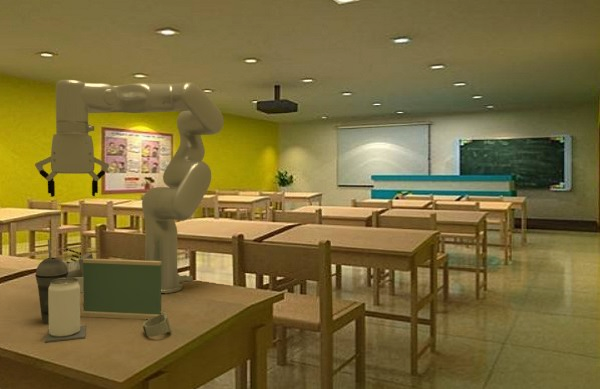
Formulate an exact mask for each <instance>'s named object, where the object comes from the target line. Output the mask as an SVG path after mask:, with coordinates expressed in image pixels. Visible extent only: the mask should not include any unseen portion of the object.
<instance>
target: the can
mask: <svg viewBox="0 0 600 389" xmlns="http://www.w3.org/2000/svg"><path fill="white" fill-rule="evenodd" d="M77 281H78V279H76V278H59V279H54V280H51V281H50V283H51V284H50V286H49V289H48V310H49V323H48V329H49V334H50V335H51V336H53V337H67V336H71V335H74V334H77V333H78V332H79V331H80V326H81V293H80V286H79V284H78V282H77Z"/></svg>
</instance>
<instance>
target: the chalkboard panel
mask: <svg viewBox="0 0 600 389" xmlns="http://www.w3.org/2000/svg"><path fill="white" fill-rule="evenodd" d="M161 264H162V261H145V260H143V259H141V260H137V259H134V260H133V259H109V258H108V259H107V258H106V259H105V258H93V259H83V291H84V293H83V311H80V318H81V317H85V318H104V319H105V318H107V319H108V318H109V319H124V320H125V319H128V320H129V319H130V320H146V319H151V318H153V317H155V316H158V315H162V314H163V311H162V294H161Z"/></svg>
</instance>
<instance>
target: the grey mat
mask: <svg viewBox="0 0 600 389" xmlns="http://www.w3.org/2000/svg"><path fill="white" fill-rule="evenodd" d="M86 328H87V325H80V331H79V332H78V333H77V334H74V335H71V336H67V337H53V336H51V335H50V334H49V328H47V332H46V336H45V339H44V343H52V342H53V343H54V342H63V341H72V340H79V339H80V340H81V339H82V340H83V339H86Z"/></svg>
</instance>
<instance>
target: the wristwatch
mask: <svg viewBox="0 0 600 389" xmlns="http://www.w3.org/2000/svg"><path fill="white" fill-rule="evenodd" d="M167 314H168V313H167V312H165V311H163V314H162V315H158V316H155V317H153V318H151V319H149V320H145V321H144V322H143V324H142V330H143V333H144V336H146V337H149V338H151V337H157V336H161V335H165V334H167V333H168V334H169V335H170V334H171V333H172V328H171V325H170V321H169V319H168V315H167Z"/></svg>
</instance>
